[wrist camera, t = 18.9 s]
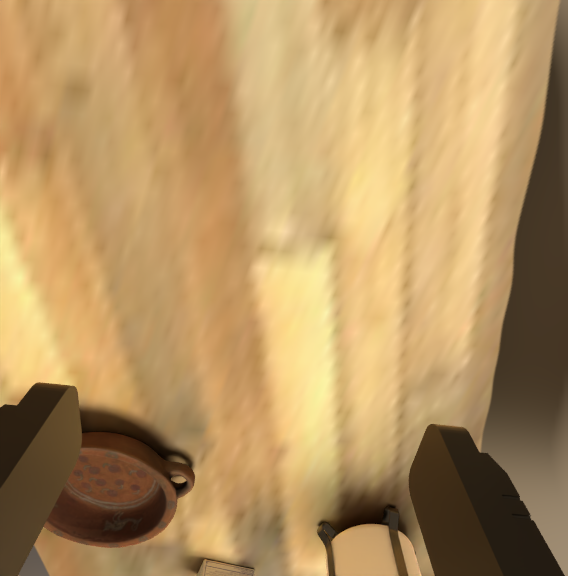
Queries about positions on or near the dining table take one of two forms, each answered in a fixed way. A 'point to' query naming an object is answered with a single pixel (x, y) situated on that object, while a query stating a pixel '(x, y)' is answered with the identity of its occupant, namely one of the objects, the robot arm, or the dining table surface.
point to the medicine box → (223, 569)
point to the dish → (117, 493)
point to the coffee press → (370, 549)
